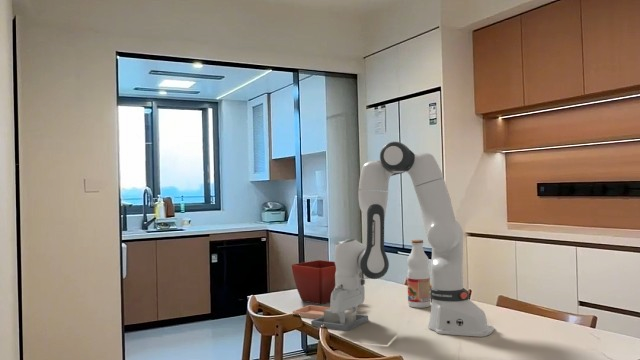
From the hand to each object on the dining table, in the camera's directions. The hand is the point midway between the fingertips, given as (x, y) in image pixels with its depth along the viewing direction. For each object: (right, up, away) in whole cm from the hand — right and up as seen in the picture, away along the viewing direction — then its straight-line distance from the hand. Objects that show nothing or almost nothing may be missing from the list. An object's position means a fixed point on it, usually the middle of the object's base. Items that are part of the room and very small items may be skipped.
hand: (348, 320), depth 193 cm
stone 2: (0, -1, 0) cm, 1 cm away
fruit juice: (+32, -2, +29) cm, 43 cm away
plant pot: (-10, -3, +45) cm, 46 cm away
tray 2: (-3, -2, +2) cm, 4 cm away
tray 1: (-12, -3, +16) cm, 20 cm away
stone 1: (-6, -2, +4) cm, 7 cm away
